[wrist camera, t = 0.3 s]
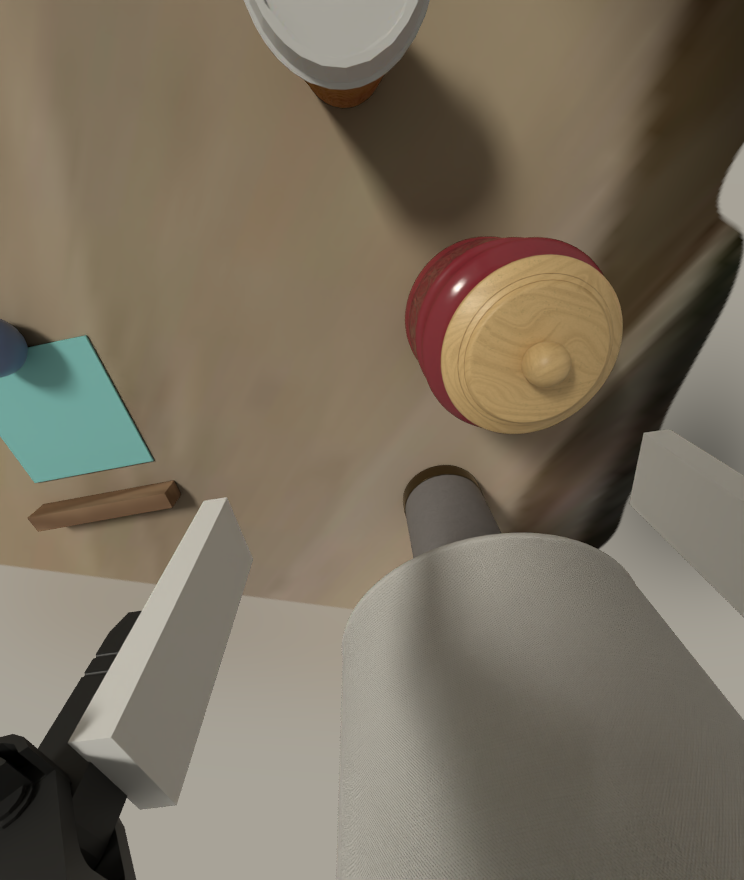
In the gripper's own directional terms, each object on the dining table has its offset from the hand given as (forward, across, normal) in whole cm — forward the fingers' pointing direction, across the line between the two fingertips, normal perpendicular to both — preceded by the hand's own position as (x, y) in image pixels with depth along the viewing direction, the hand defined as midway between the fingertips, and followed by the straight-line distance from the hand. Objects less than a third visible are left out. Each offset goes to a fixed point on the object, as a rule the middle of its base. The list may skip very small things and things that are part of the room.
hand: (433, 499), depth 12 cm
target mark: (+28, -34, -4) cm, 44 cm away
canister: (+28, +8, 0) cm, 29 cm away
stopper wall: (+27, -34, -15) cm, 46 cm away
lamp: (+28, +4, -22) cm, 35 cm away
